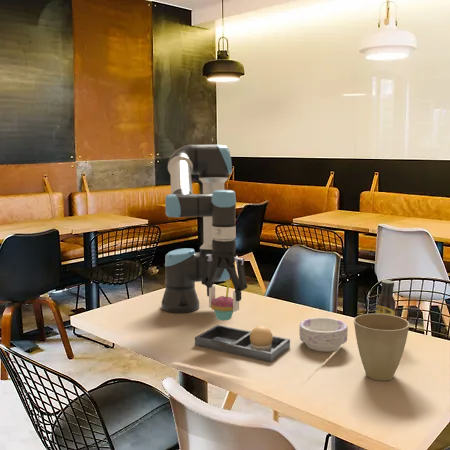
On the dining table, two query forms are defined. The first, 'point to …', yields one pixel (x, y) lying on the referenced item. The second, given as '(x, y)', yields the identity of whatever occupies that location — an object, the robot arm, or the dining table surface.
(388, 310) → the sauce bottle
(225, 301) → the cupcake
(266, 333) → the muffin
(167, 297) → the robot arm
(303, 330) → the paper bowls
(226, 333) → the divided tray
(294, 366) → the dining table surface
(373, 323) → the plant pot
